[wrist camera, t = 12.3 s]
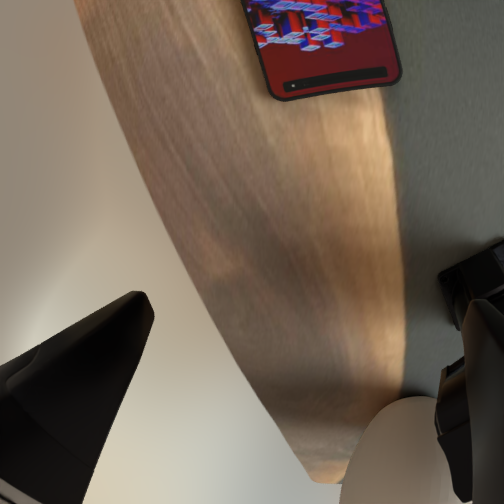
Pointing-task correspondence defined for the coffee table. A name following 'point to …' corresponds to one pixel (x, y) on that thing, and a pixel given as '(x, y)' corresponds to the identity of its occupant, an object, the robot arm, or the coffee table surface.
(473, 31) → the coffee table surface
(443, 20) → the coffee table surface
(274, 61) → the smartphone
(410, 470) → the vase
